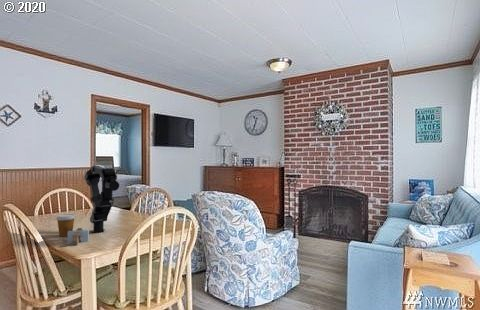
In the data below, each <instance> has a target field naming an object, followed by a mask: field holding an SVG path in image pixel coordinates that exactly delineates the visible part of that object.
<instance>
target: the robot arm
mask: <svg viewBox="0 0 480 310" xmlns="http://www.w3.org/2000/svg"><path fill="white" fill-rule="evenodd" d="M84 180H85V183H86V185H87V186H89V187H90V193H91V197H90V199H91V202H92V204H93V209H92V211H91V215H90V216H89V217H90V218H89V222H90V223H92V224H93V228H92V229H93V230H92V231H91V233H92V234H93V233H95V234H96V233H97V234H98V233H104V232H105V230H106V228H104V226H105V225H104V222H107V221H108V217H109V214H110V213H111V210H112V207H113V204H114V202H115V197H114V196H113V193H114V192H115V191H118V190H119V188H120V182H118V181H117V180H118V174H117V173H116V170H115V169H114V168H113V167H102V166H99V165H95V166H94V165H93V166H91V167H90V169H88V170H87V171H86V172H85V174H84ZM100 180H101V192H100V188H99V182H100Z"/></svg>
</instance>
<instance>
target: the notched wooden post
mask: <svg viewBox="0 0 480 310" xmlns="http://www.w3.org/2000/svg"><path fill="white" fill-rule="evenodd" d="M77 230H83V228H82V227H77V228H76V230H75V231H77ZM81 238H82V236H79V232H74V234H73V243H72V247H75V246H78V245H79V244H80V242H81Z"/></svg>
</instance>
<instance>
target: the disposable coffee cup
mask: <svg viewBox="0 0 480 310" xmlns="http://www.w3.org/2000/svg"><path fill="white" fill-rule="evenodd" d="M55 219H56V220H57V228H58V233H59V237H61V238H66V237H67V238H68V231H74V222H75V219H76V215H75V214H74V213H64V214H59V215H57V216H56V218H55Z"/></svg>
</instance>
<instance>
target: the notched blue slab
mask: <svg viewBox="0 0 480 310" xmlns="http://www.w3.org/2000/svg"><path fill="white" fill-rule="evenodd" d="M76 230H77V229H76ZM76 230H73V231H68V237H67V244H73V234H74V232H79V236H82V238H81V240H80V242H81V243H88V242H89V241H90V229H82V230H77V231H76Z"/></svg>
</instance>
